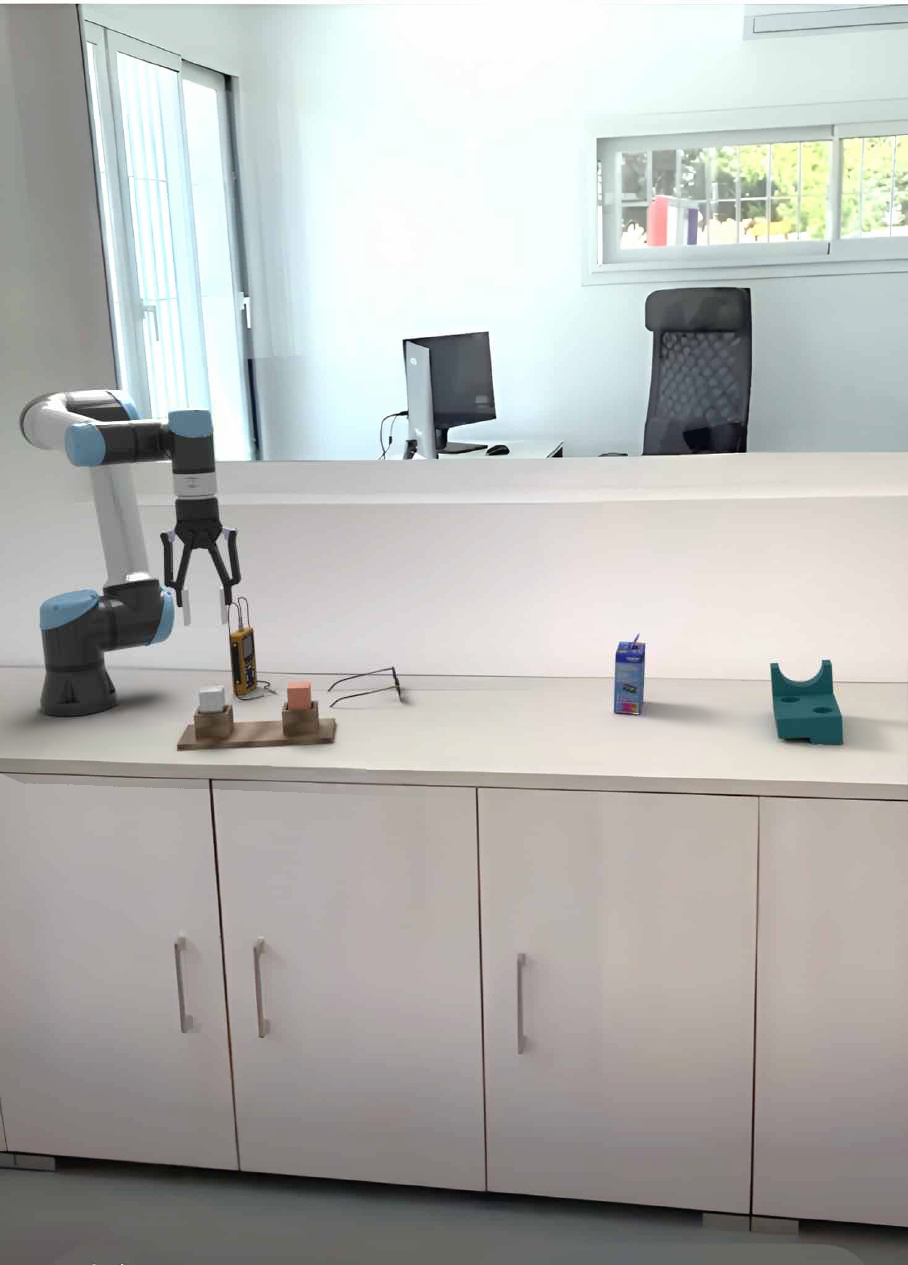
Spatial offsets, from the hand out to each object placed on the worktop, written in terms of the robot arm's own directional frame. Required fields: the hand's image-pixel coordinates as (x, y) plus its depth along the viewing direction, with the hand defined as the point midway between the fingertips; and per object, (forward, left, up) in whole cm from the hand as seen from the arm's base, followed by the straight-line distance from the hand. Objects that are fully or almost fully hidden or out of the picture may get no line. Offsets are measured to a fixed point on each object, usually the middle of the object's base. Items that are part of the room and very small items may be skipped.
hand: (206, 623), depth 211 cm
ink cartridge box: (+51, +62, -22) cm, 83 cm away
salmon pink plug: (+11, +11, -17) cm, 24 cm away
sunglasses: (+3, +35, -23) cm, 42 cm away
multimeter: (-18, +26, -22) cm, 39 cm away
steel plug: (0, 0, -17) cm, 17 cm away
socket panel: (+6, +6, -22) cm, 23 cm away
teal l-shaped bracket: (+84, +70, -22) cm, 111 cm away
